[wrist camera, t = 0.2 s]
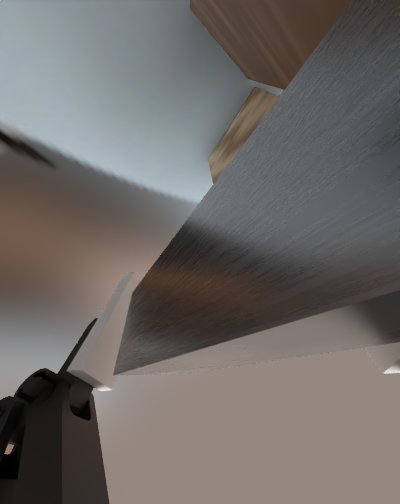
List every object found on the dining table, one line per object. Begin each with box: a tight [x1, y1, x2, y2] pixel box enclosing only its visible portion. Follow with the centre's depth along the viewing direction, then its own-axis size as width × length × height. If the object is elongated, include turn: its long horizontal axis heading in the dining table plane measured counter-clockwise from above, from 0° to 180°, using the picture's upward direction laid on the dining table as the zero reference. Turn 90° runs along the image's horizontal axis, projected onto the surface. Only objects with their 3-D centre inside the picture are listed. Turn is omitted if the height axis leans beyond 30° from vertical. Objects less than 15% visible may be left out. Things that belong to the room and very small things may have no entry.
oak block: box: [208, 87, 279, 184], centre depth 23 cm, size 12×9×20 cm
